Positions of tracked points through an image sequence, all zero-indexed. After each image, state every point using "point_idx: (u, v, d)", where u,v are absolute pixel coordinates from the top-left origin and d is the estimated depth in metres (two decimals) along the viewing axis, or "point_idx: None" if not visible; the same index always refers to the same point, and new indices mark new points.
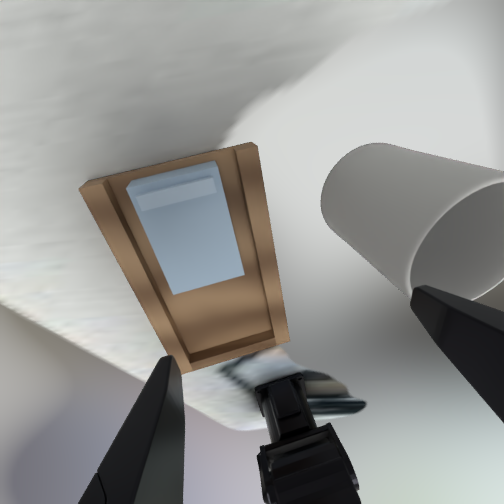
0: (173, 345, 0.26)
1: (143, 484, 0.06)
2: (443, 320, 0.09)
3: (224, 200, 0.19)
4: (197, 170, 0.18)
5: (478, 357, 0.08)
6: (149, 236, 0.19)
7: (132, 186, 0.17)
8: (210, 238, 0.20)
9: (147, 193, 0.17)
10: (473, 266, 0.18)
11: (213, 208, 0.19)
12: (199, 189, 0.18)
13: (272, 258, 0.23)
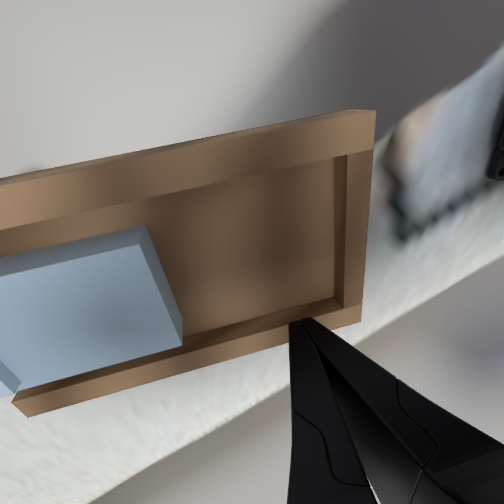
0: None
1: None
2: None
3: None
4: None
5: (339, 401, 0.08)
6: (70, 374, 0.13)
7: None
8: (55, 305, 0.11)
9: None
10: None
11: None
12: None
13: (107, 173, 0.10)
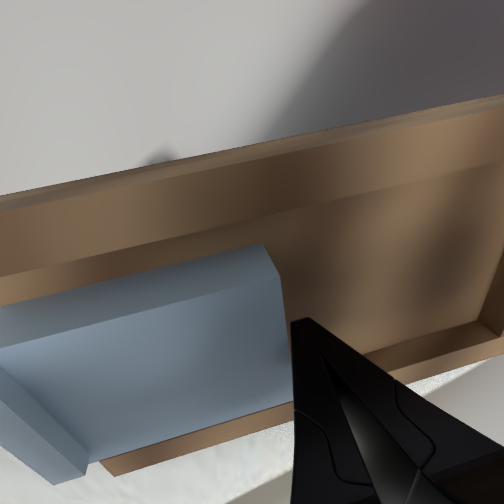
0: (439, 363, 0.13)
1: None
2: None
3: (27, 345, 0.07)
4: None
5: None
6: (153, 441, 0.10)
7: None
8: (152, 360, 0.08)
9: None
10: None
11: (60, 363, 0.07)
12: None
13: (295, 163, 0.07)
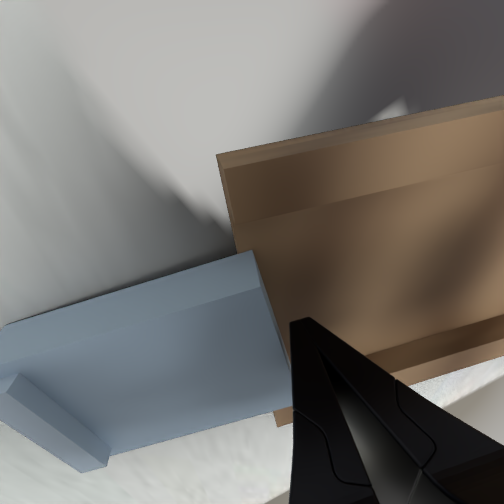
0: None
1: None
2: None
3: (38, 356, 0.08)
4: None
5: (338, 401, 0.08)
6: (166, 438, 0.11)
7: None
8: (150, 367, 0.08)
9: None
10: None
11: (69, 371, 0.08)
12: (16, 416, 0.08)
13: None
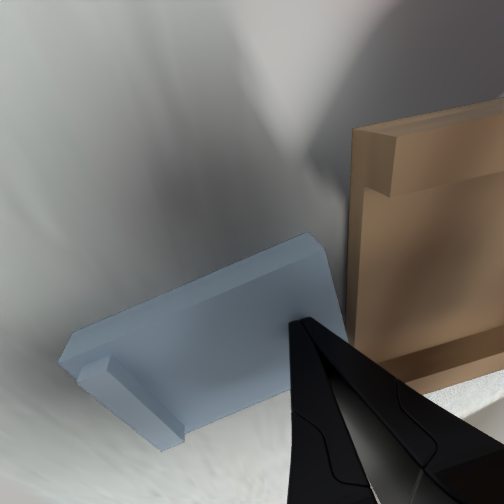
0: None
1: None
2: None
3: (129, 335, 0.08)
4: None
5: (339, 401, 0.08)
6: (233, 411, 0.11)
7: None
8: (225, 337, 0.09)
9: None
10: None
11: (155, 348, 0.09)
12: (112, 395, 0.09)
13: None
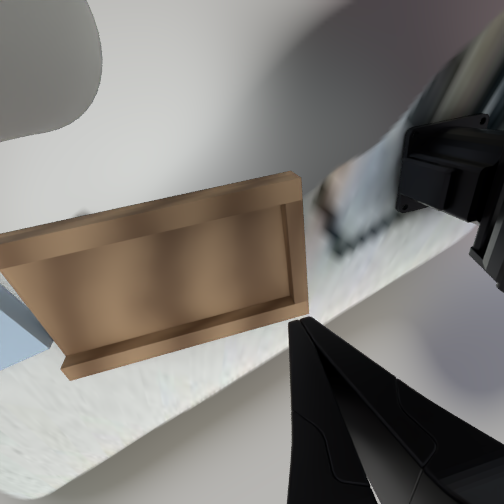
0: (260, 319, 0.23)
1: None
2: None
3: None
4: None
5: (339, 401, 0.08)
6: None
7: None
8: None
9: None
10: None
11: None
12: None
13: (133, 219, 0.16)
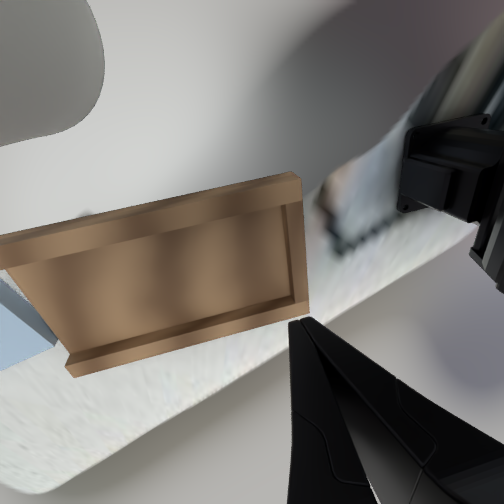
0: (261, 318, 0.23)
1: None
2: None
3: None
4: None
5: (339, 401, 0.08)
6: None
7: None
8: None
9: None
10: None
11: None
12: None
13: (135, 220, 0.17)
